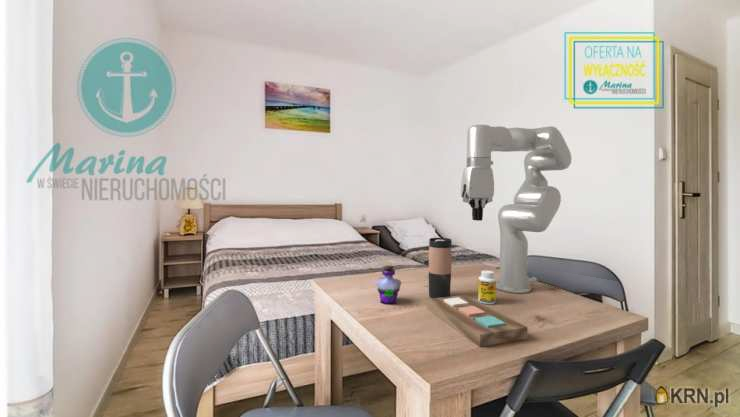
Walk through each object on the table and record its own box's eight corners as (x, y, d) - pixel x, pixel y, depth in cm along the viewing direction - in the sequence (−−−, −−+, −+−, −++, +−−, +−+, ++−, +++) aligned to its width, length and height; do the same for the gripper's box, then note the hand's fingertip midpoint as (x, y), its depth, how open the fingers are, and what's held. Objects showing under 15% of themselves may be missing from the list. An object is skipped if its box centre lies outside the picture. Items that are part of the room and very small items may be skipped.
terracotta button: (473, 316, 100) (473, 305, 99) (484, 322, 95) (485, 312, 95) (458, 318, 98) (458, 307, 98) (468, 325, 93) (469, 314, 93)
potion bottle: (381, 307, 108) (381, 270, 107) (371, 299, 116) (371, 264, 115) (406, 304, 111) (406, 267, 110) (394, 296, 119) (394, 262, 118)
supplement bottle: (477, 303, 112) (478, 272, 111) (477, 298, 117) (478, 269, 116) (496, 305, 110) (497, 274, 109) (495, 300, 115) (496, 270, 115)
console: (465, 304, 111) (465, 294, 111) (527, 338, 86) (527, 327, 86) (426, 308, 107) (426, 299, 107) (479, 346, 81) (480, 334, 81)
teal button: (491, 326, 92) (491, 315, 92) (504, 334, 87) (505, 323, 87) (474, 329, 90) (475, 317, 90) (487, 337, 85) (487, 325, 85)
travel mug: (449, 293, 123) (450, 237, 121) (452, 300, 115) (453, 241, 114) (427, 292, 123) (428, 237, 122) (429, 299, 116) (429, 240, 114)
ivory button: (458, 306, 107) (458, 297, 107) (468, 312, 102) (468, 302, 102) (443, 308, 106) (443, 299, 105) (452, 314, 101) (452, 304, 100)
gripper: (490, 165, 117) (489, 218, 119) (452, 164, 113) (451, 219, 114) (505, 163, 110) (503, 220, 111) (465, 162, 106) (464, 222, 107)
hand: (477, 220), depth 113 cm, fingers closed
